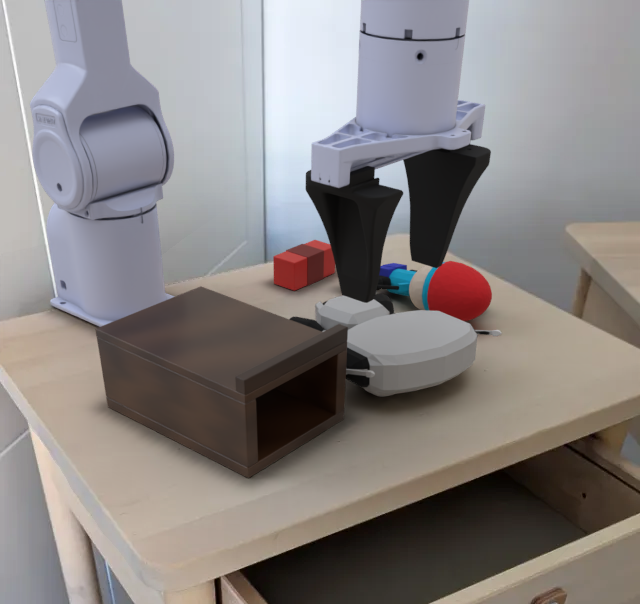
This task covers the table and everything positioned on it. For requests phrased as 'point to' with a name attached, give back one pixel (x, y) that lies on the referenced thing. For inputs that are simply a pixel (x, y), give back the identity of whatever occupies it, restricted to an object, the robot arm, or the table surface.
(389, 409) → the table surface
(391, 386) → the robot toy
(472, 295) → the toy figure
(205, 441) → the shelf
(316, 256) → the red block
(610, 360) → the table surface
